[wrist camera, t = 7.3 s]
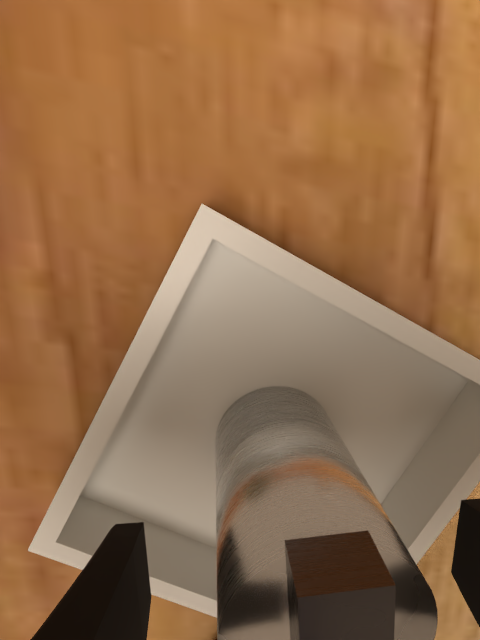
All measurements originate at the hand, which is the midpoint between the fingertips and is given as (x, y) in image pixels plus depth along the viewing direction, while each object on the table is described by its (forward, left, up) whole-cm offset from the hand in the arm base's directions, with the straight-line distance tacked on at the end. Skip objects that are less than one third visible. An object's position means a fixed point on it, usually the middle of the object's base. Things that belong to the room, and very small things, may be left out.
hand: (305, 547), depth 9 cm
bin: (0, 0, -5) cm, 5 cm away
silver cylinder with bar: (0, 0, -5) cm, 5 cm away
